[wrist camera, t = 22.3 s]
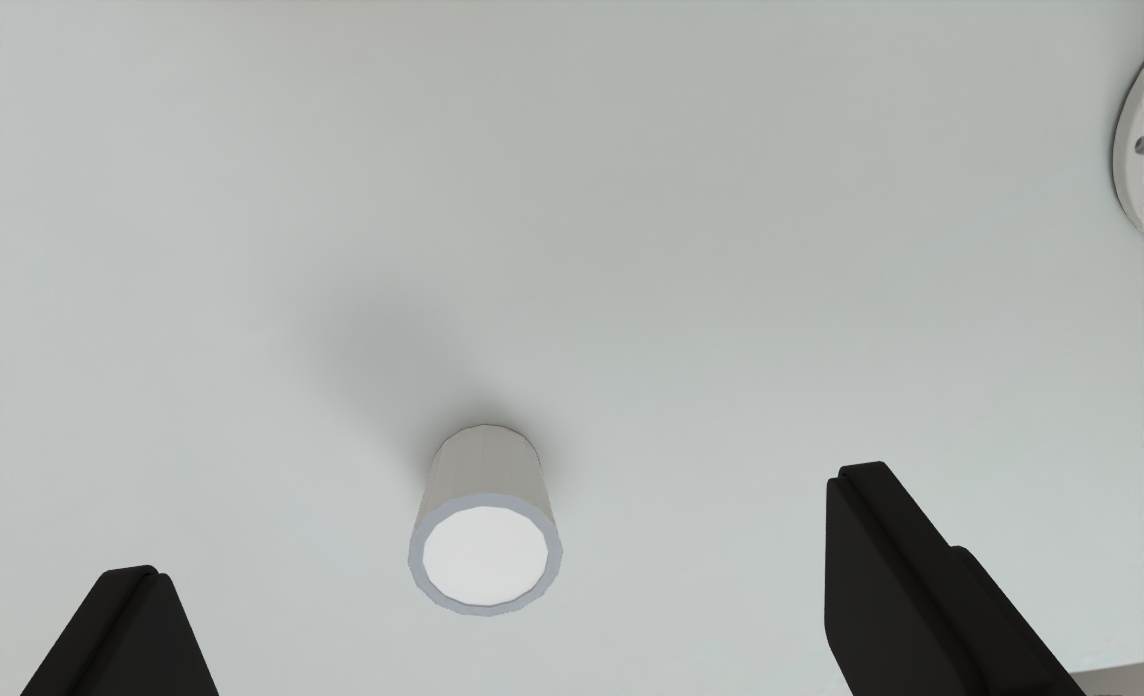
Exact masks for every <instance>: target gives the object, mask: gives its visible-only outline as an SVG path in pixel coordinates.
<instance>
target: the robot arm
mask: <svg viewBox="0 0 1144 696" xmlns="http://www.w3.org/2000/svg"><path fill="white" fill-rule="evenodd" d="M1113 177H1114V181H1115V186H1116V191H1117V195H1118V198H1119V200H1120V202H1121V204H1122V207H1123V209H1124V211H1125V213H1126V215H1127V216H1128V217H1129V219H1130V220H1131V221H1132V222H1133V223H1134V225H1135V226H1136V227H1137V228H1138V229H1139V230H1140V231H1141V232H1142V233H1144V68H1143V69H1142V71H1141V72H1140V74H1139V76H1138V78H1137V80H1136V82H1135V84H1134V86H1133V87H1132V89H1131V91H1130V93H1129V95H1128V97H1127V99H1126V102H1125V105H1124V108H1123V111H1122V113H1121V116H1120V119H1119V122H1118V125H1117V131H1116V136H1115V142H1114V147H1113ZM824 625H825V632H826V636H827V640H828V643H829V646H830V648H831V651H832V653H833V655H834V657H835V659H836V661H837V663H838V665H839V667H840V669H841V671H842V673H843V675H844V678H845V680H846V682H847V684H848V686H849V688H850V690H851V692H852V694H853V696H1086V695H1085V694H1084V692H1083V691H1082V690H1081V688H1080V687H1079V686H1078V685H1077V683H1076V682H1075V681H1074V680H1073V679H1072V677H1071V676H1070V675H1069V674H1068V672H1067V671H1066V670H1065V669H1064V667H1063V666H1062V665H1061V664H1060V662H1059V661H1058V660H1057V659H1056V657H1055V656H1054V655H1053V654H1052V652H1051V651H1050V650H1049V649H1048V647H1047V646H1046V645H1045V644H1044V642H1043V641H1042V640H1041V639H1040V638H1039V636H1038V635H1037V634H1036V633H1035V631H1034V630H1033V629H1032V628H1031V626H1030V625H1029V624H1028V623H1027V621H1026V620H1025V619H1024V618H1023V616H1022V615H1021V614H1020V613H1019V611H1018V610H1017V609H1016V608H1015V606H1014V605H1013V604H1012V603H1011V601H1010V600H1009V599H1008V598H1007V597H1006V595H1005V594H1004V593H1003V592H1002V590H1001V589H1000V588H999V587H998V585H997V584H996V583H995V582H994V580H993V579H992V578H991V577H990V575H989V574H988V573H987V572H986V570H985V569H984V568H983V567H982V565H981V564H980V563H979V562H978V560H977V559H976V558H975V557H974V556H973V555H972V554H971V553H970V552H969V551H968V550H967V549H966V548H964V547H961V546H952V547H950V546H949V545H948V543H947V542H946V541H945V540H944V538H943V537H942V536H941V534H940V533H939V532H938V531H937V529H936V528H935V527H934V525H933V524H932V523H931V522H930V520H929V519H928V518H927V516H926V515H925V514H924V512H923V511H922V510H921V509H920V507H919V506H918V505H917V503H916V502H915V501H914V500H913V498H912V497H911V496H910V494H909V493H908V492H907V491H906V489H905V488H904V487H903V485H902V484H901V483H900V482H899V480H898V479H897V478H896V476H895V475H894V474H893V473H892V471H891V470H890V469H889V467H888V466H887V465H886V464H885V463H884V462H881V461H877V462H870V463H862V464H855V465H848V466H843V467H841V468H840V470H839V473H838V477H837V478H830V479H829V480H828V482H827V495H826V551H825V607H824ZM20 696H219V694H218V692H217V689H216V687H215V684H214V682H213V679H212V677H211V675H210V672H209V670H208V667H207V665H206V662H205V660H204V658H203V655H202V653H201V650H200V648H199V645H198V643H197V641H196V638H195V636H194V633H193V631H192V628H191V626H190V624H189V621H188V619H187V616H186V614H185V611H184V609H183V607H182V604H181V602H180V599H179V597H178V594H177V592H176V590H175V587H174V585H173V582H172V580H171V579H170V577H169V576H168V575H167V574H164V573H160V574H159V573H158V571H157V570H156V569H155V568H154V567H153V566H151V565H142V566H135V567H128V568H121V569H114V570H108V571H106V572H104V573H103V574H102V575H101V576H100V577H99V578H98V580H97V581H96V583H95V584H94V586H93V587H92V589H91V590H90V592H89V593H88V595H87V596H86V598H85V599H84V601H83V602H82V604H81V605H80V607H79V608H78V610H77V611H76V613H75V614H74V616H73V617H72V619H71V620H70V622H69V623H68V625H67V626H66V628H65V629H64V631H63V632H62V634H61V635H60V637H59V638H58V640H57V641H56V643H55V644H54V646H53V647H52V648H51V650H50V651H49V653H48V654H47V656H46V657H45V659H44V660H43V662H42V663H41V665H40V666H39V668H38V669H37V671H36V672H35V674H34V675H33V677H32V678H31V680H30V681H29V683H28V684H27V686H26V687H25V689H24V690H23V692H22V693H21V695H20ZM1095 696H1121V695H1095Z"/></svg>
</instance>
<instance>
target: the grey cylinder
mask: <svg viewBox="0 0 1144 696" xmlns="http://www.w3.org/2000/svg"><path fill="white" fill-rule="evenodd" d="M562 553H563V549H562V546H561V542H560V538H559V535H558V531H557V527H556V524H555V520H554V516H553V512H552V509H551V505H550V501H549V498H548V494H547V490H546V487H545V483H544V479H543V475H542V472H541V468H540V465H539V461H538V457H537V454H536V451H535V449H534V448H533V447H532V446H531V445H530V444H529V443H528V441H527V440H526V439H525V438H524V437H523V436H522V435H520V434H517V433H515V432H513V431H511V430H509V429H507V428H505V427H500V426H490V425H479V426H475V427H471V428H467V429H463V430H461V431H459V432H458V433H456V434H455V435H453V436H452V437H450V438H449V439H447V440H446V441H444V443H443V445H442V446H441V448H440V449H439V451H438V452H437V454H436V455H435V457H434V460H433V463H432V467H431V470H430V473H429V477H428V480H427V484H426V487H425V491H424V494H423V497H422V501H421V504H420V508H419V511H418V515H417V518H416V521H415V525H414V528H413V532H412V535H411V539H410V548H409V556H408V565H409V567H410V570H411V572H412V575H413V578H414V580H415V583H416V585H417V586H418V587H419V588H420V589H421V590H422V591H423V592H424V593H425V594H426V595H427V596H428V597H429V598H430V599H431V600H432V601H433V602H434V603H435V604H437V605H440V606H442V607H445V608H447V609H450V610H452V611H454V612H457V613H459V614H462V615H476V616H490V617H491V616H495V615H499V614H504V613H508V612H512V611H516V610H519V609H521V608H523V607H524V606H526V605H528V604H529V603H531V602H532V601H534V600H536V599H537V598H539V597H540V596H542V595H543V594H544V593H545V591H546V590H547V589H548V587H549V586H550V585H551V583H552V582H553V581H554V579H555V578H556V577H557V575H558V572H559V567H560V562H561V558H562Z"/></svg>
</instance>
